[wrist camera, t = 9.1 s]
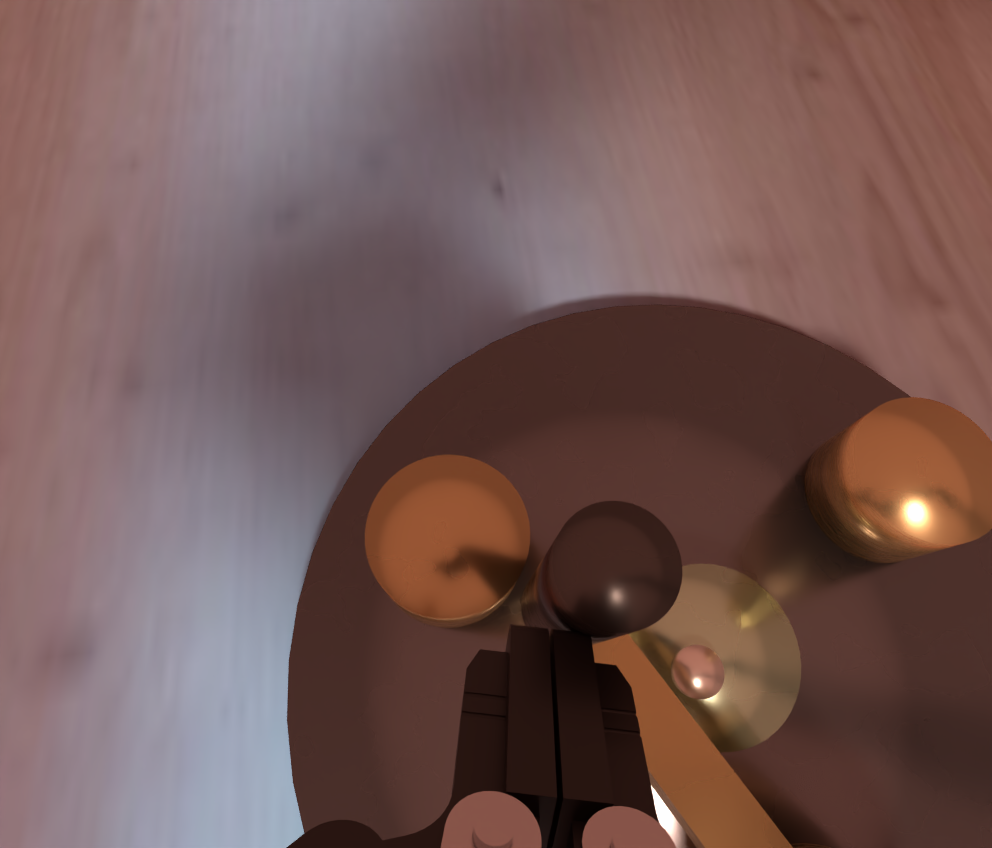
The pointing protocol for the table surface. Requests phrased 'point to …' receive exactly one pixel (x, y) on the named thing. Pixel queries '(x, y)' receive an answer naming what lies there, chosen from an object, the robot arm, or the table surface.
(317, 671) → the plate
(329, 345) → the table surface
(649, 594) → the lever knob
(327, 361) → the table surface
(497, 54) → the table surface
